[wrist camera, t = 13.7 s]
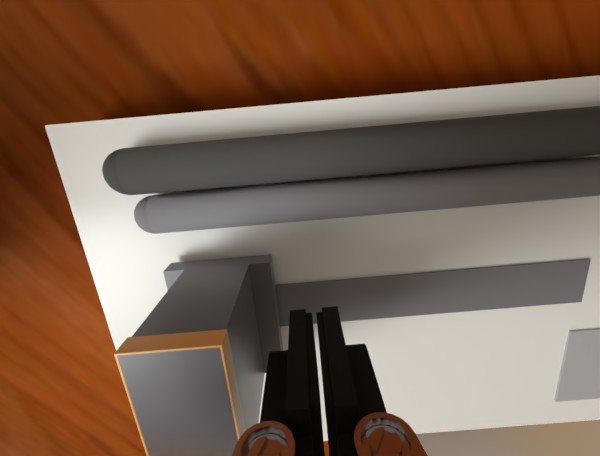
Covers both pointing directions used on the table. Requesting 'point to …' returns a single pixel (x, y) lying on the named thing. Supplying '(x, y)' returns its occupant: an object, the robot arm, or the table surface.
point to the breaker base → (377, 233)
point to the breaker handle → (203, 356)
